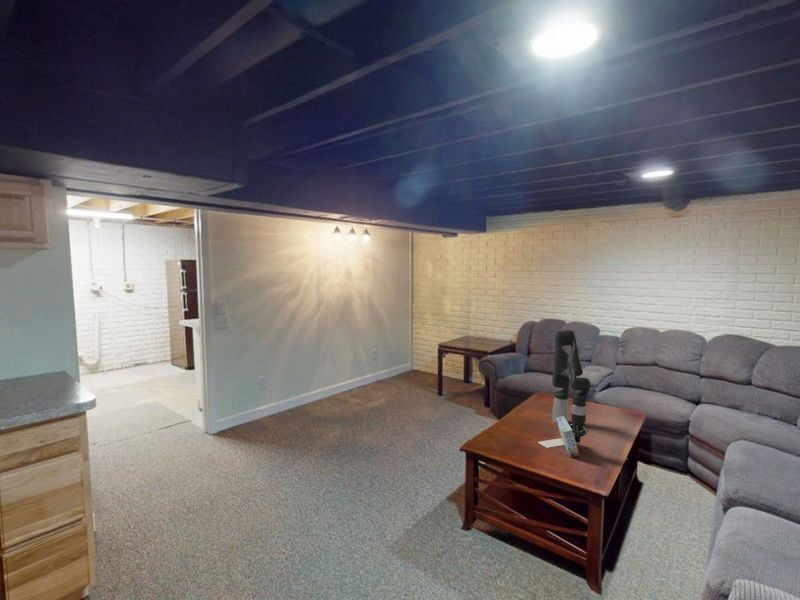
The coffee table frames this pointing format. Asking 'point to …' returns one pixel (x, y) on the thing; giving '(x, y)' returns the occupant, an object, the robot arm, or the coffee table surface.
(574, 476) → the coffee table surface
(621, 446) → the coffee table surface
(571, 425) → the robot arm
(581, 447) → the coffee table surface
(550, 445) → the mat
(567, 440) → the snack box
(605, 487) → the coffee table surface
